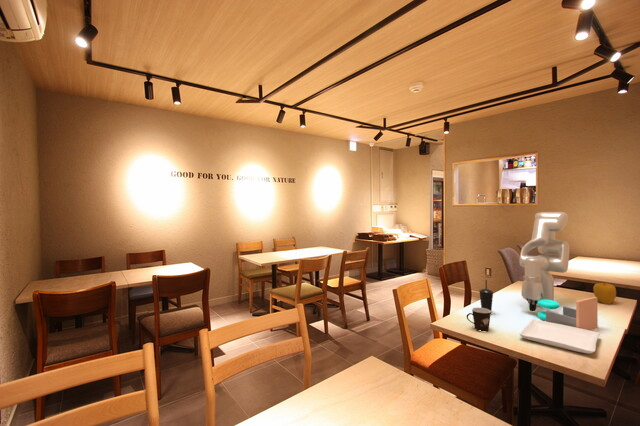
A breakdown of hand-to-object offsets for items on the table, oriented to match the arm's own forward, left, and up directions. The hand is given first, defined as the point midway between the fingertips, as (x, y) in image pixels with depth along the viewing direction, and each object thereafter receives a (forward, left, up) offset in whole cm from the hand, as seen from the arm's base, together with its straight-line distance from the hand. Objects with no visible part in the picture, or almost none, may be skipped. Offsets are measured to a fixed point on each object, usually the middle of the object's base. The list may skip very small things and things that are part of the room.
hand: (532, 310), depth 180 cm
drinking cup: (-13, -21, -3) cm, 25 cm away
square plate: (+26, -23, -3) cm, 35 cm away
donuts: (+8, +1, -3) cm, 9 cm away
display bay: (+19, +1, -2) cm, 19 cm away
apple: (+7, +62, -3) cm, 62 cm away
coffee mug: (+1, -45, -3) cm, 46 cm away
